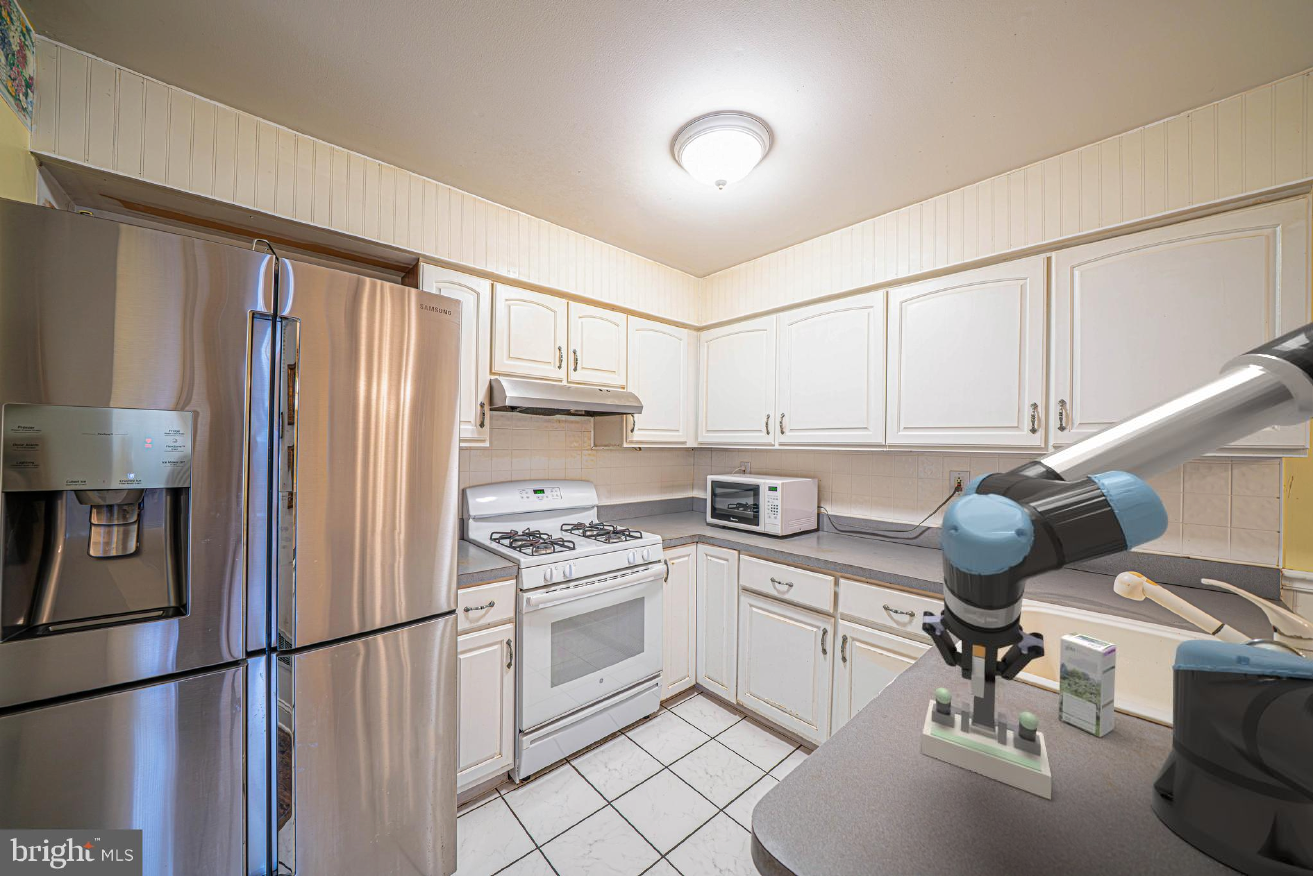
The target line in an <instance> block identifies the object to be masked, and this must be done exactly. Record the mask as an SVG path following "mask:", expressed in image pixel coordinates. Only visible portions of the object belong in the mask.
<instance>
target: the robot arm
mask: <svg viewBox="0 0 1313 876" xmlns="http://www.w3.org/2000/svg"><path fill="white" fill-rule="evenodd" d="M1309 420H1313V321H1312V322H1309V323H1306V324H1304V325H1302V326H1300V327H1298V328H1295V329H1294V330H1291V331H1289V332H1286V333H1285V334H1282V335H1281V336H1278V337H1276V338H1274V339H1272V340H1270V341H1267V342H1265V343H1263V344H1261V345H1259V346H1257V347H1256V348H1252V349H1251V350H1249V351H1247V352H1245V353H1242V354H1239V355H1238V356H1235V357H1234V358H1232V359H1230V360H1228V361H1227V362H1225V364H1223V366H1222V367H1221V369H1220V371H1219V373H1218V374H1217V375H1215V376H1213V377H1211V378H1209V379H1207V380H1204V381H1202V382H1200V383H1198V384H1196V385H1194V386H1192V387H1190V388H1187V389H1185V390H1184V391H1181V392H1178V393H1177V394H1174V395H1172V396H1170V397H1167V398H1166V399H1164V400H1161V401H1160V402H1157V403H1155V404H1152V405H1151V406H1148V407H1146V408H1144V409H1141V410H1140V411H1138V412H1135V413H1134V414H1133V413H1132V415H1129V416H1127V417H1124V418H1122V419H1120V420H1118V421H1116V422H1114V423H1112V424H1109V425H1107V426H1104V427H1102V428H1101V429H1099V430H1097V431H1094V432H1092V433H1090V434H1088V435H1085V436H1084V437H1082V438H1081V437H1080V438H1079V439H1077V440H1074V441H1073V442H1070V443H1068V444H1066V445H1064V446H1062V447H1060V448H1059V447H1058V449H1055V450H1053V451H1051V452H1048V453H1047V454H1044V455H1042V456H1040V457H1037V458H1036V459H1034V460H1031V461H1029V462H1027V463H1024V464H1021V465H1020V466H1017V467H1015V468H1013V469H1011V470H1009V471H1006V472H1004V473H1003V472H990V473H985V474H981V475H978V476H976V477H974V478H973V479H972V480H971V481H970V482H969V483H968V484H967V485H966V486H965V489H964V491H963V494H962V495H963V496H961V497H959V498H958V499H956V500H955V501H953V502H952V503H951V504H949V506H948V507H947V508H946V510H945V511H944V513H943V517H942V522H941V529H940V530H941V532H940V536H939V538H940V539H939V545H940V550H941V559H942V570H943V571H942V572H943V573H942V583H943V588H942V589H943V606H944V607H943V609H942V610H941V612H940V615H935V613H934V612H932V611H928V610H925V611H923V614H922V626H921V630H922V631H923V632H924V633H925V634H927V635H928V636H929V637H931V639H932V641H933V643H934V644H935V646H936V648H937V649H938V651H939V653H940V656H941V657H942V658H943V660H944V662H945V664H946V665H947V666H949V667H952V668H953V667H955V668H956V667H957V666H958V667H960V668H961V678H962V679H965V680H968V681H971V683H970V684H971V686H970V696H973V697H974V696H978V697H981V698H983V696H984V683H985V684H989V685H994V684H995V685H996V677H997V676H1000V678H1002V679H1003V680H1006V681H1012V680H1014V679H1015V677H1016V676H1017V675H1018V674H1019V673H1020V672H1022V671H1023V670H1024V669H1025V668H1026V666H1027V665H1029V663H1030V662H1031V661H1032V660H1035V659H1039V658H1043V657H1045V644H1044V643H1045V642H1044V635H1043V634H1042V633H1040V632H1036V631H1035V632H1034V631H1033V632H1029V633H1027V632H1025V631H1024V628H1023V626H1022V625H1021V624H1020V622H1021V616H1022V606H1023V597H1024V593H1025V588H1026V582H1027V581H1028V580H1030V579H1034V578H1037V577H1040V576H1043V575H1047V574H1050V573H1052V572H1056V571H1060V570H1062V569H1065V568H1069V567H1072V566H1076V565H1079V564H1083V563H1085V562H1090V561H1092V560H1097V559H1101V558H1103V557H1108V556H1110V555H1111V556H1112V555H1113V554H1117V553H1121V552H1130V551H1132V549H1134V548H1137V547H1138V546H1139V547H1140V546H1142V545H1144V544H1147V543H1150V542H1152V541H1155V540H1158V539H1160V538H1161V537H1162V536H1163V535H1164V534H1165V533H1166V531H1167V529H1168V526H1169V514H1168V511H1167V510H1166V509H1165V506H1164V504H1163V500H1162V499H1161V498H1160V496H1159V495H1158V493H1157V492H1156V491H1155V490H1154V489H1153V488H1152V487H1151V486H1150V485H1149V484H1148V483H1147V482H1145V481H1148V480H1150V479H1152V478H1154V477H1157V476H1159V475H1162V474H1164V473H1165V472H1168V471H1170V470H1173V469H1175V468H1177V467H1180V466H1182V465H1183V464H1187V463H1189V462H1190V461H1191V462H1192V461H1193V460H1196V459H1198V458H1201V457H1203V456H1205V455H1207V454H1210V453H1212V452H1214V451H1217V450H1219V449H1221V448H1223V447H1225V446H1228V445H1230V444H1232V443H1235V442H1237V441H1240V440H1242V439H1245V438H1247V437H1248V436H1252V435H1253V434H1256V433H1258V432H1260V431H1262V430H1264V429H1267V428H1269V427H1272V426H1281V427H1282V426H1283V427H1287V426H1289V427H1290V426H1296V425H1299V424H1303V423H1305V422H1306V423H1307V422H1308V421H1309ZM950 634H952V635H953V636H954V637H955V638H956V639H958V640H960V641H961V652H960V651H958V648H957V646H956V644H955V642H954V641H953V638H952V637H951V635H950ZM973 645H977V646H982V647H985V659H983V658H978V657H974V656H973ZM1009 646H1010V648H1009V649H1008V650H1007V651H1006V652H1005V653H1004V655H1002V657H1001V658H1000V660H998V661H997V656H998V657H999V649H1004V648H1006V647H1009ZM1171 669H1172V670H1173V674H1172V675H1173V677H1172V678H1173V679H1172V682H1173V683H1172V686H1173V687H1172V744H1171V745H1172V747H1171V751H1170V752H1169V754H1168V755H1167V756H1168V757H1167V758H1166V760H1165V761H1164V762H1163V765H1162V766H1161V768H1160V770H1159V771H1158V772H1157V774H1156V776H1155V778H1154V779H1153V782H1152V784H1151V791H1150V793H1151V794H1150V804H1151V807H1152V810H1153V811H1154V814H1156V816H1157V817H1158V818H1159V819H1160V820H1161V821H1162V823H1164V825H1166V826H1167V827H1168V828H1169V829H1170V830H1171V831H1173V832H1174V833H1175V834H1177V835H1178V836H1179V837H1181V838H1182V839H1183V840H1185V841H1187V842H1188V843H1189V844H1191V846H1194V847H1195V848H1196V849H1197V850H1198V849H1199V850H1200V851H1201V852H1203V853H1205V854H1207V855H1209V856H1210V857H1212V858H1214V859H1215V860H1217V861H1219V862H1221V863H1223V864H1224V865H1227V866H1229V867H1231V868H1233V869H1235V870H1237V871H1239V872H1241V873H1244V874H1245V875H1248V876H1313V659H1311V658H1308V657H1305V656H1301V655H1297V654H1293V653H1289V652H1285V651H1280V650H1275V649H1270V648H1265V647H1260V646H1255V645H1249V644H1248V645H1247V644H1242V643H1237V642H1236V643H1235V642H1229V641H1220V640H1212V639H1211V640H1210V639H1189V640H1188V639H1187V640H1184V641H1182V642H1181V643H1180V644H1178V645H1177V647H1176V651H1175V658H1174V663H1173V665H1172V668H1171Z"/></svg>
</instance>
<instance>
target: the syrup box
mask: <svg viewBox="0 0 1313 876" xmlns="http://www.w3.org/2000/svg"><path fill="white" fill-rule="evenodd" d="M1059 644H1060V645H1059V646H1060V647H1059V648H1060V650H1059V653H1060V654H1059V655H1060V656H1059V686H1058V687H1059V688H1058V689H1059V690H1058V691H1059V692H1058V720H1060V721H1062V722H1064V723H1066V724H1068V725H1070V726H1072V727H1074V728H1077V729H1080V730H1082V731H1083V732H1086V733H1088V734H1091V735H1093V736H1096V737H1098V738H1102V737H1103V736H1105V735H1107V734H1109V733H1110V732H1112V731H1113V730H1114V729H1115V684H1116V683H1115V682H1116V664H1117V663H1116V661H1117V646H1116V644H1115V643H1113V642H1109V641H1106V640H1105V641H1104V640H1102V639H1100V638H1099V639H1098V638H1095V637H1091V636H1088V635H1084V634H1082V633H1077V632H1070V633H1067V634H1065V635H1063V636H1061V637H1060V643H1059Z"/></svg>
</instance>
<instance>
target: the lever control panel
mask: <svg viewBox="0 0 1313 876" xmlns="http://www.w3.org/2000/svg"><path fill="white" fill-rule="evenodd" d="M934 696H935V700H933V699H929V703H928V704H929V705H928V708H927V712H926V716H925V721H924V726H923V730H922V735H921V736H922V738H921V739H922V741H921V754H923V755H926V756H929V757H931V758H934V759H936V758H937V760H939V761H942V762H945V763H948V764H950V763H951V765H954V766H956V767H959V768H961V767H962V769H963V770H967V771H970V770H971V771H970V772H972V773H973V772H974V773H975V772H977V773H976V774H979V775H981V774H982V775H981V776H984V777H986V776H987V778H989V779H992V780H995V779H996V780H995V781H998V782H1001V783H1004V784H1006V785H1010V786H1012V787H1014V788H1017V789H1021V790H1023V791H1025V792H1027V793H1028V792H1029V793H1032V794H1034V795H1037V796H1040V797H1041V798H1045V799H1048V800H1050V801H1051V799H1052V778H1053V777H1052V772H1051V768H1050V762H1049V759H1048V758H1049V757H1048V753H1047V748H1046V744H1045V743H1046V742H1045V738H1044V734H1043V732H1041V731H1038V727H1039V720H1038V718H1037V716H1035V714H1034V713H1031V712H1030V711H1022V712H1020V714H1019V716H1018V725H1017V724H1014V723H1011V722H1008V719H1007V714H1006V713H1003V712H1000V711H999V712H997V718H995V717H994V721H996V732H995V733H994V732H991V731H988V730H984V729H981V728H978V727H975V726H972V725H971V721H972V714H973V711H972V710H970V709H971V704H970V703H969V702H966V701H962V702H961V707H958V706H954V705H952V694H951V692H950V691H949V690H948V689H947V688H945V687H938V688H937V689H936V690H935V692H934Z"/></svg>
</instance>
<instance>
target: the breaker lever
mask: <svg viewBox="0 0 1313 876" xmlns="http://www.w3.org/2000/svg"><path fill="white" fill-rule="evenodd" d="M974 655H975V657H978V658H983V659H985V647H982V646H977V645H974ZM998 657H999V655H998V656H997V661H999V660H998V659H999V658H998ZM995 702H996V683H995V684H994V685H989V684H985V683H984V696H983V698H981V697H978V696H974V695H973V709H972V710H973V711H972V712H973V714H972V721H971V725H972V726H975V727H978V728H981V729H984V730H988V731H991V732H994V733H995V732H996V721H994V718H995V712H996V711H995V708H996V707H995V704H996V703H995Z"/></svg>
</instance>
